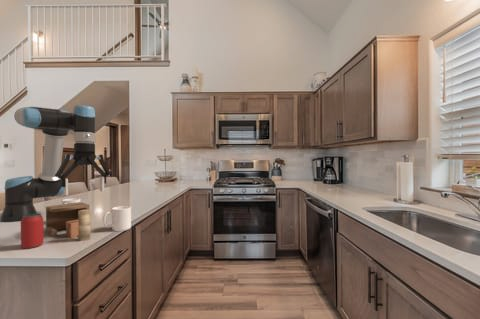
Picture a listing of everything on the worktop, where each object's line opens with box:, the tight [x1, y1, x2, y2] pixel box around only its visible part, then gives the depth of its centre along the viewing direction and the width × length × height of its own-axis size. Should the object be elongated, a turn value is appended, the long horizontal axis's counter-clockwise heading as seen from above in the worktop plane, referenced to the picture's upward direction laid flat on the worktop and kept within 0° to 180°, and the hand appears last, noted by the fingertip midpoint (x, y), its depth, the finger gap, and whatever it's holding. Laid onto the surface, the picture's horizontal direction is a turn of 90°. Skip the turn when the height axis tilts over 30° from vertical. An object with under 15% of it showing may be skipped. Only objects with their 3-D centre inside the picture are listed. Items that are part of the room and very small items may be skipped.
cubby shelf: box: [45, 202, 90, 238], centre depth 114 cm, size 11×14×12 cm
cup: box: [102, 205, 132, 232], centre depth 115 cm, size 8×12×10 cm
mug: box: [61, 197, 81, 205], centre depth 127 cm, size 12×8×12 cm
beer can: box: [20, 213, 44, 249], centre depth 94 cm, size 7×7×12 cm
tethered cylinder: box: [65, 209, 91, 242], centre depth 105 cm, size 14×6×12 cm, turn 52°
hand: (84, 193), depth 103 cm, fingers open, 13 cm apart
